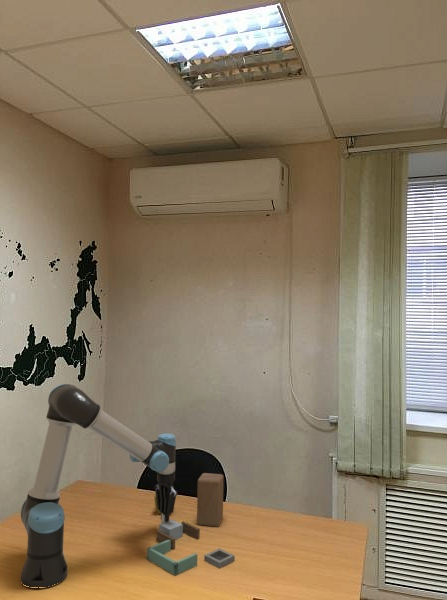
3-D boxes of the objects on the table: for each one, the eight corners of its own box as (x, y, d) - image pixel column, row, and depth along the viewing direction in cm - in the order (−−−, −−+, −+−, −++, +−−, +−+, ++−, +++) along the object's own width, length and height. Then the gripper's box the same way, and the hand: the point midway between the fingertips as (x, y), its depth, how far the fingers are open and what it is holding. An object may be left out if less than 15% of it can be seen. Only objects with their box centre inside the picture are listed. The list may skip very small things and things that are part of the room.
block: (169, 542, 195) (169, 529, 196) (158, 536, 200) (158, 524, 201) (182, 536, 201) (182, 524, 201) (171, 531, 205) (171, 519, 206)
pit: (219, 568, 175) (219, 562, 176) (204, 560, 181) (204, 555, 181) (234, 560, 181) (234, 555, 181) (219, 553, 187) (219, 548, 187)
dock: (175, 575, 170) (175, 564, 170) (146, 559, 181) (147, 548, 181) (197, 565, 177) (197, 554, 178) (168, 549, 189) (168, 539, 189)
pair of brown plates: (172, 550, 189) (172, 539, 189) (156, 541, 196) (156, 531, 196) (199, 538, 199) (199, 528, 199) (183, 531, 206) (183, 521, 206)
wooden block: (218, 527, 210) (219, 480, 211) (196, 525, 212) (197, 478, 213) (223, 518, 220) (224, 473, 221) (201, 516, 222) (202, 472, 223)
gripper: (183, 473, 203) (181, 530, 202) (163, 466, 212) (161, 521, 211) (169, 477, 197) (167, 536, 196) (149, 470, 206) (147, 526, 205)
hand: (164, 528), depth 204 cm, fingers closed
